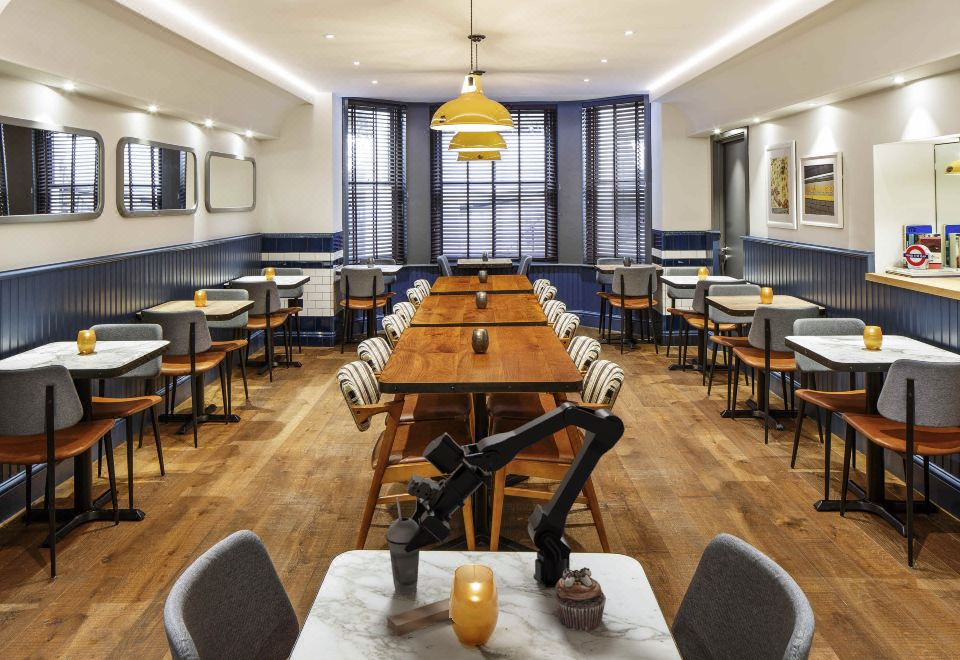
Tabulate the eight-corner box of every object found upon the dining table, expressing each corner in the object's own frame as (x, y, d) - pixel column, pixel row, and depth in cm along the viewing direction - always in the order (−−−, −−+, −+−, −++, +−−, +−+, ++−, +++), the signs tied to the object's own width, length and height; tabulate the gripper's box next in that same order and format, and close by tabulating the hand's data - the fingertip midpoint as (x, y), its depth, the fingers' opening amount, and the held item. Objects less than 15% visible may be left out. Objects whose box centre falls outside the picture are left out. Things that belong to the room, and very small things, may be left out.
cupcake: (564, 636, 154) (563, 584, 153) (549, 611, 163) (549, 563, 162) (613, 630, 156) (613, 579, 154) (596, 606, 165) (596, 558, 164)
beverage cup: (418, 599, 169) (415, 505, 167) (383, 596, 171) (380, 503, 168) (427, 583, 177) (424, 492, 174) (394, 581, 178) (391, 491, 175)
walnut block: (459, 604, 167) (458, 594, 167) (469, 612, 164) (469, 602, 163) (387, 627, 158) (387, 617, 158) (397, 635, 155) (397, 625, 155)
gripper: (426, 449, 180) (376, 501, 180) (432, 476, 161) (376, 534, 162) (463, 483, 182) (413, 534, 182) (473, 513, 163) (417, 570, 164)
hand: (405, 542), depth 172 cm, fingers open, 9 cm apart
